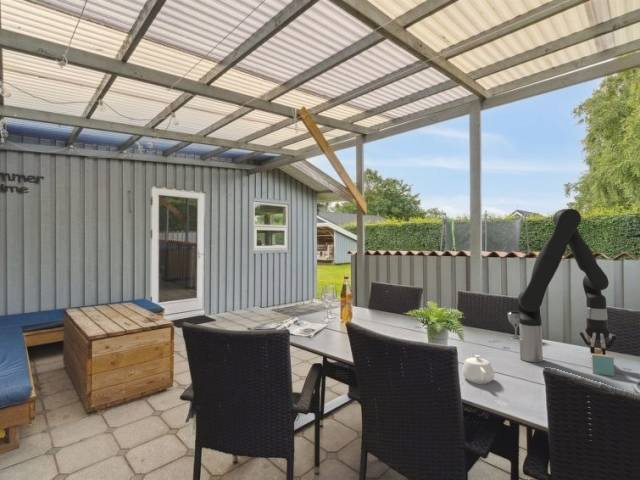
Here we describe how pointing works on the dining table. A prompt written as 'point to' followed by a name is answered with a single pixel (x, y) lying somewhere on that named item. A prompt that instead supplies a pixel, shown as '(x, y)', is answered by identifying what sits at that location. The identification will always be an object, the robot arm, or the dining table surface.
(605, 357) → the tile
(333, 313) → the dining table surface
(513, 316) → the wine glass
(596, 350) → the turner
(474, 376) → the teapot
